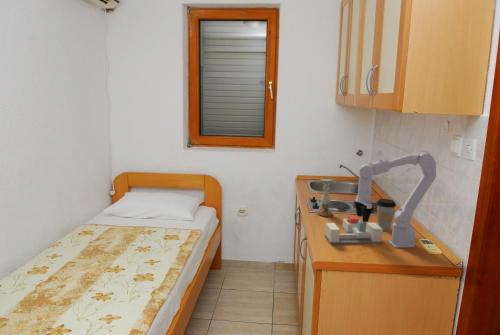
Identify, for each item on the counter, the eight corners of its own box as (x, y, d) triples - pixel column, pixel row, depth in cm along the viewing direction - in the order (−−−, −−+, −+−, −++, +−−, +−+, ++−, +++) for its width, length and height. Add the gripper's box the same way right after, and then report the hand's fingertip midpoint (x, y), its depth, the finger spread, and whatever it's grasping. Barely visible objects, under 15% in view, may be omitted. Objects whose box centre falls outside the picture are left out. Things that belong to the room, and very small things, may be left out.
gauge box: (357, 228, 202) (358, 218, 201) (363, 233, 195) (363, 224, 194) (342, 228, 202) (343, 218, 201) (347, 233, 194) (348, 224, 193)
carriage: (364, 233, 190) (365, 219, 188) (369, 239, 183) (371, 224, 181) (352, 234, 189) (353, 219, 188) (357, 239, 182) (358, 224, 181)
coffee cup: (393, 227, 205) (395, 199, 202) (394, 233, 196) (397, 204, 193) (374, 225, 207) (376, 197, 204) (374, 231, 198) (376, 202, 195)
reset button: (355, 222, 200) (356, 216, 199) (358, 225, 195) (359, 219, 195) (347, 222, 199) (347, 216, 199) (350, 225, 195) (350, 219, 194)
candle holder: (335, 215, 222) (338, 180, 218) (322, 217, 218) (324, 181, 214) (327, 211, 230) (329, 177, 226) (314, 212, 226) (315, 178, 222)
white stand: (373, 235, 192) (374, 222, 190) (381, 243, 182) (382, 229, 181) (324, 236, 190) (325, 222, 189) (330, 244, 180) (331, 230, 179)
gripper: (350, 186, 189) (349, 214, 191) (361, 194, 174) (359, 224, 177) (365, 186, 189) (363, 213, 192) (377, 194, 175) (374, 224, 178)
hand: (362, 218), depth 184 cm, fingers open, 7 cm apart
